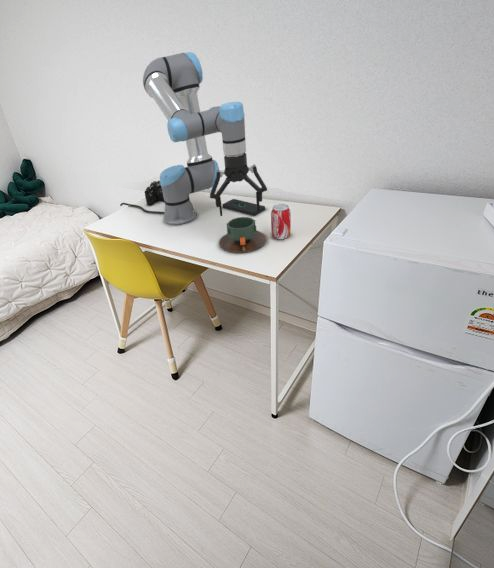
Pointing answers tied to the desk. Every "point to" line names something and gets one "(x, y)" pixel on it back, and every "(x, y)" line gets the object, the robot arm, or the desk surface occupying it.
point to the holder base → (249, 246)
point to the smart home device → (243, 207)
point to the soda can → (281, 221)
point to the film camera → (154, 193)
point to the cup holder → (241, 229)
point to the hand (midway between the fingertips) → (239, 212)
